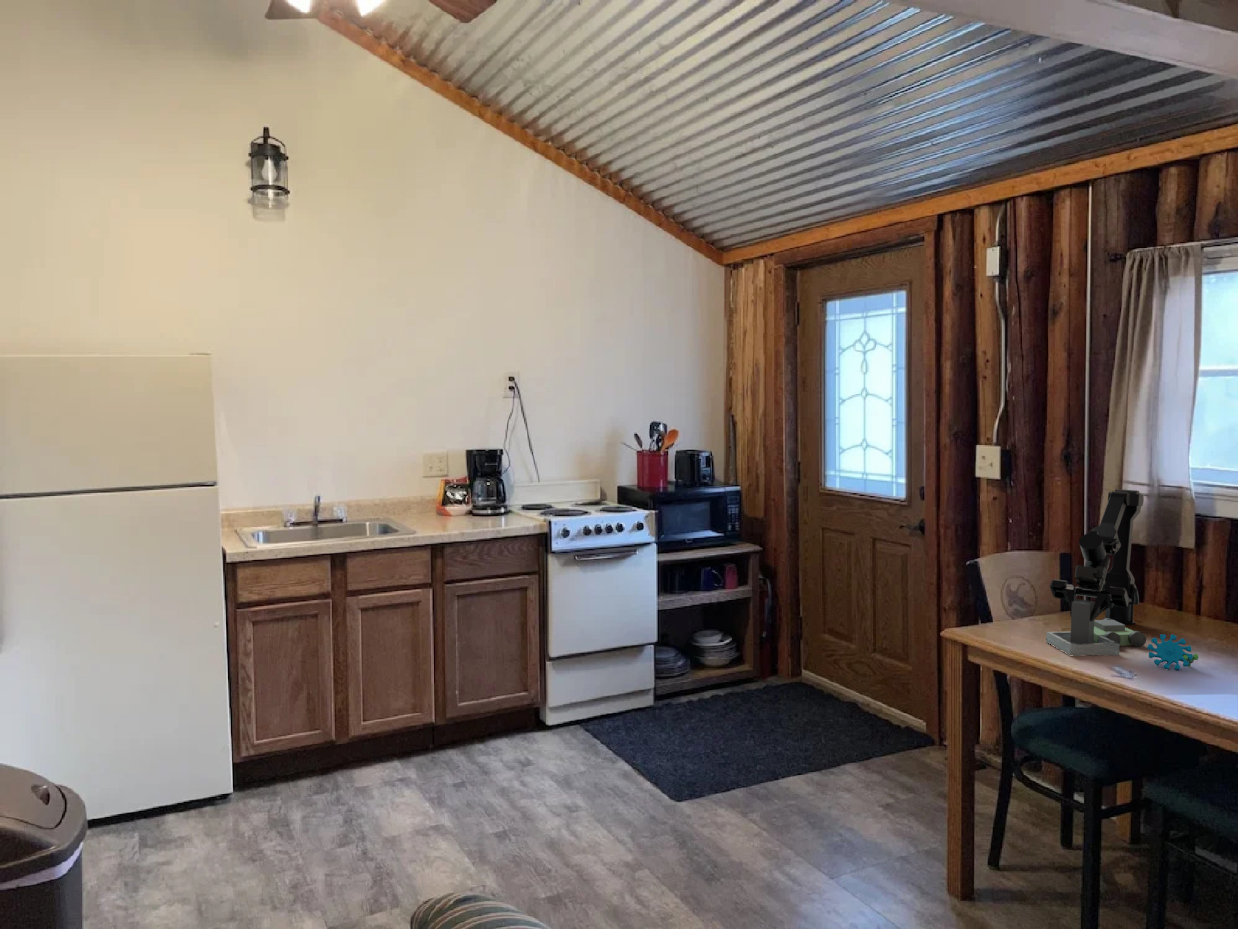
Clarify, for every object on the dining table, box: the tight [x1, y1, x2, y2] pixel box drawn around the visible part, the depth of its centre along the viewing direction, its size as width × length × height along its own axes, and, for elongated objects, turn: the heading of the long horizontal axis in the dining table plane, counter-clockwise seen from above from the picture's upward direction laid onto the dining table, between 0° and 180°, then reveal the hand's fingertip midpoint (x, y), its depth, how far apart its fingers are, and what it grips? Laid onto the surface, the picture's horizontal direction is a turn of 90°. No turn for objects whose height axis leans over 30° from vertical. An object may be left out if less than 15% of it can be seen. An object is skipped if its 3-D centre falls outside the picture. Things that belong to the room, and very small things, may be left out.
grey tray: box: [1045, 630, 1121, 657], centre depth 253 cm, size 13×13×3 cm
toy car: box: [1093, 617, 1147, 648], centre depth 262 cm, size 12×16×4 cm
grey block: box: [1070, 598, 1096, 644], centre depth 252 cm, size 4×4×11 cm
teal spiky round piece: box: [1146, 633, 1199, 671], centre depth 238 cm, size 11×6×10 cm
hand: (1081, 619), depth 251 cm, fingers closed on grey block, 4 cm apart
